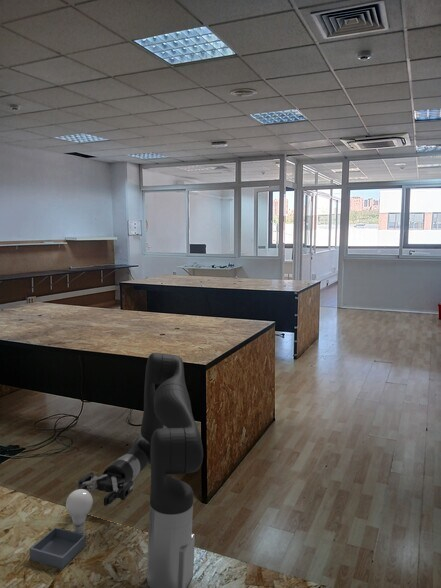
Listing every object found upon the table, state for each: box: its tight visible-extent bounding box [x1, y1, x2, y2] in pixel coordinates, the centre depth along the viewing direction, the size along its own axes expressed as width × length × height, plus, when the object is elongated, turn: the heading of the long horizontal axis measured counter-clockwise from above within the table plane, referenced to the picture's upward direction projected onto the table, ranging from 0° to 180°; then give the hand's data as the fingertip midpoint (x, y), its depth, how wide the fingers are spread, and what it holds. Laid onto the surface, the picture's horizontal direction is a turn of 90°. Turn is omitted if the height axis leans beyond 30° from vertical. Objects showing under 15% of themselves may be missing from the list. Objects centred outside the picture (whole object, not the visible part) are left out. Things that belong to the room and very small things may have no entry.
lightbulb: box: [65, 488, 94, 534], centre depth 110 cm, size 6×6×11 cm
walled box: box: [29, 526, 87, 570], centre depth 103 cm, size 9×9×3 cm
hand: (90, 498), depth 115 cm, fingers open, 8 cm apart
